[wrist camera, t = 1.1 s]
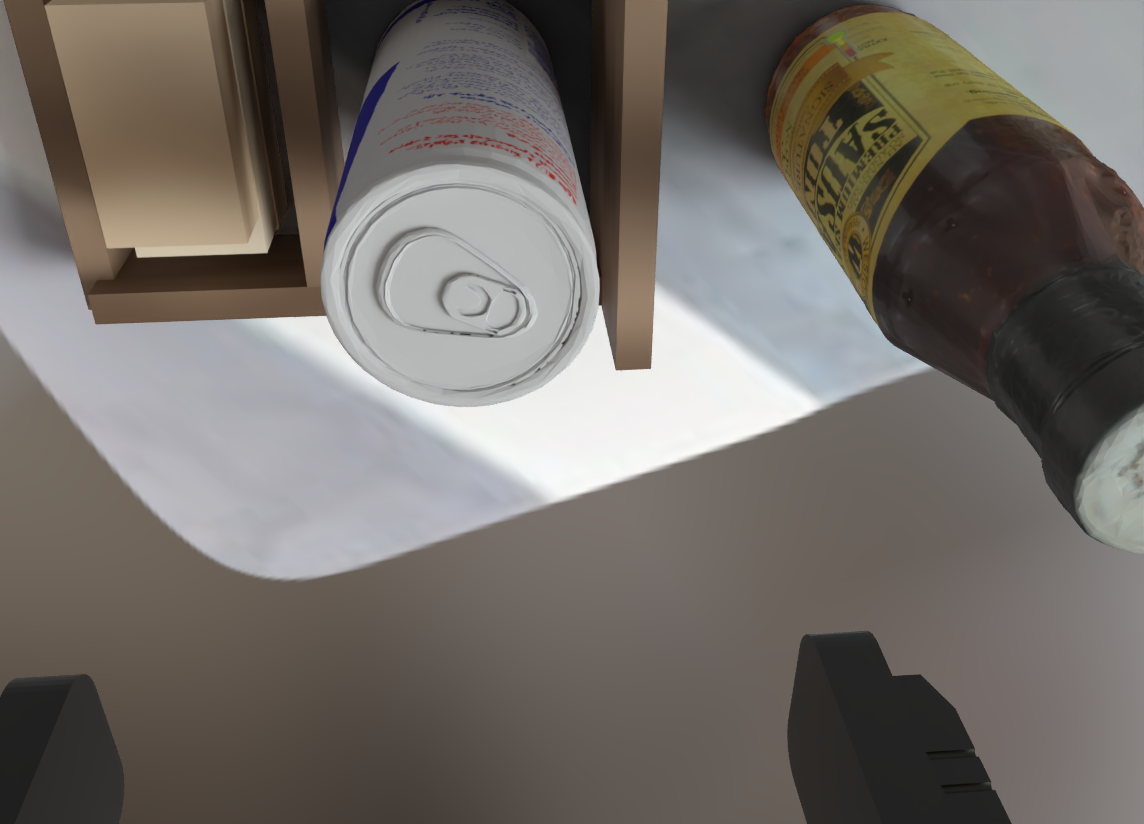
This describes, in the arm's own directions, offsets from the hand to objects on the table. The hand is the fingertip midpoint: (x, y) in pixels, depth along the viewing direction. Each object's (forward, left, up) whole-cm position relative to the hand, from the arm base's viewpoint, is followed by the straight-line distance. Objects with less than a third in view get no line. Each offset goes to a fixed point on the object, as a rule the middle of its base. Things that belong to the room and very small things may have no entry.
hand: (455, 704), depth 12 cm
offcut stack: (0, -8, -26) cm, 27 cm away
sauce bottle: (+1, +12, -26) cm, 29 cm away
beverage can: (0, 0, -26) cm, 26 cm away
